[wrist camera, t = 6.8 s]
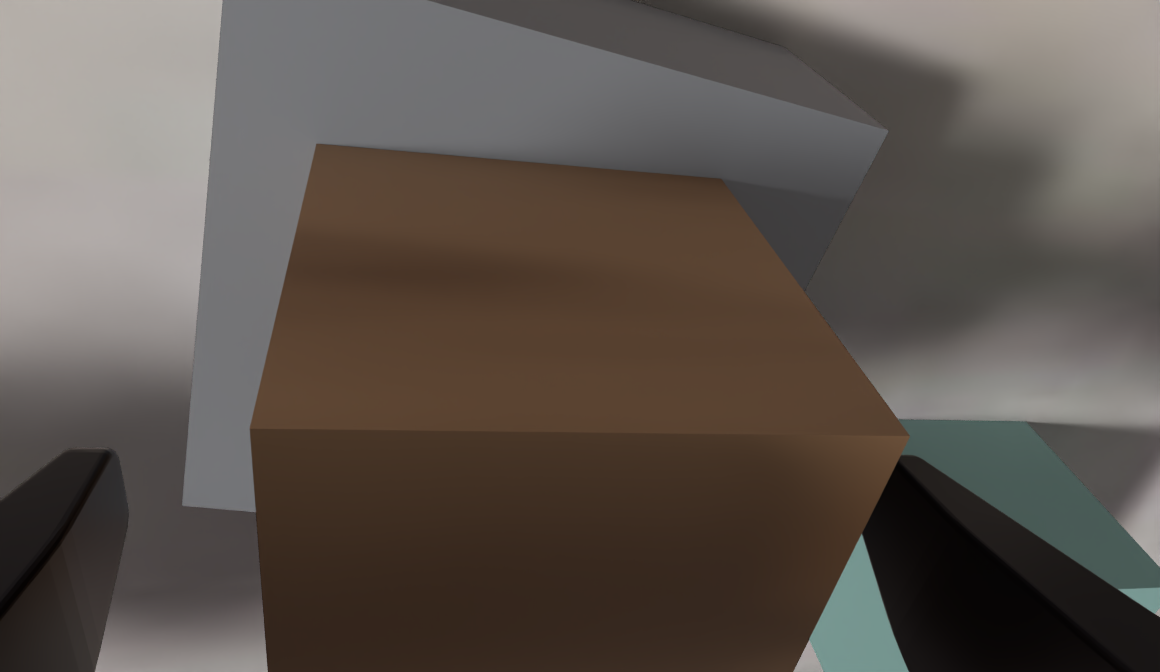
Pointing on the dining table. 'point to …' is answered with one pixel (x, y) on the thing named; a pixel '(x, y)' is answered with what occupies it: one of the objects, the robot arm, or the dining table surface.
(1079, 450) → the dining table surface
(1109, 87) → the dining table surface
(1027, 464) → the teal cube
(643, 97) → the slate base block
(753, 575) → the walnut cube
